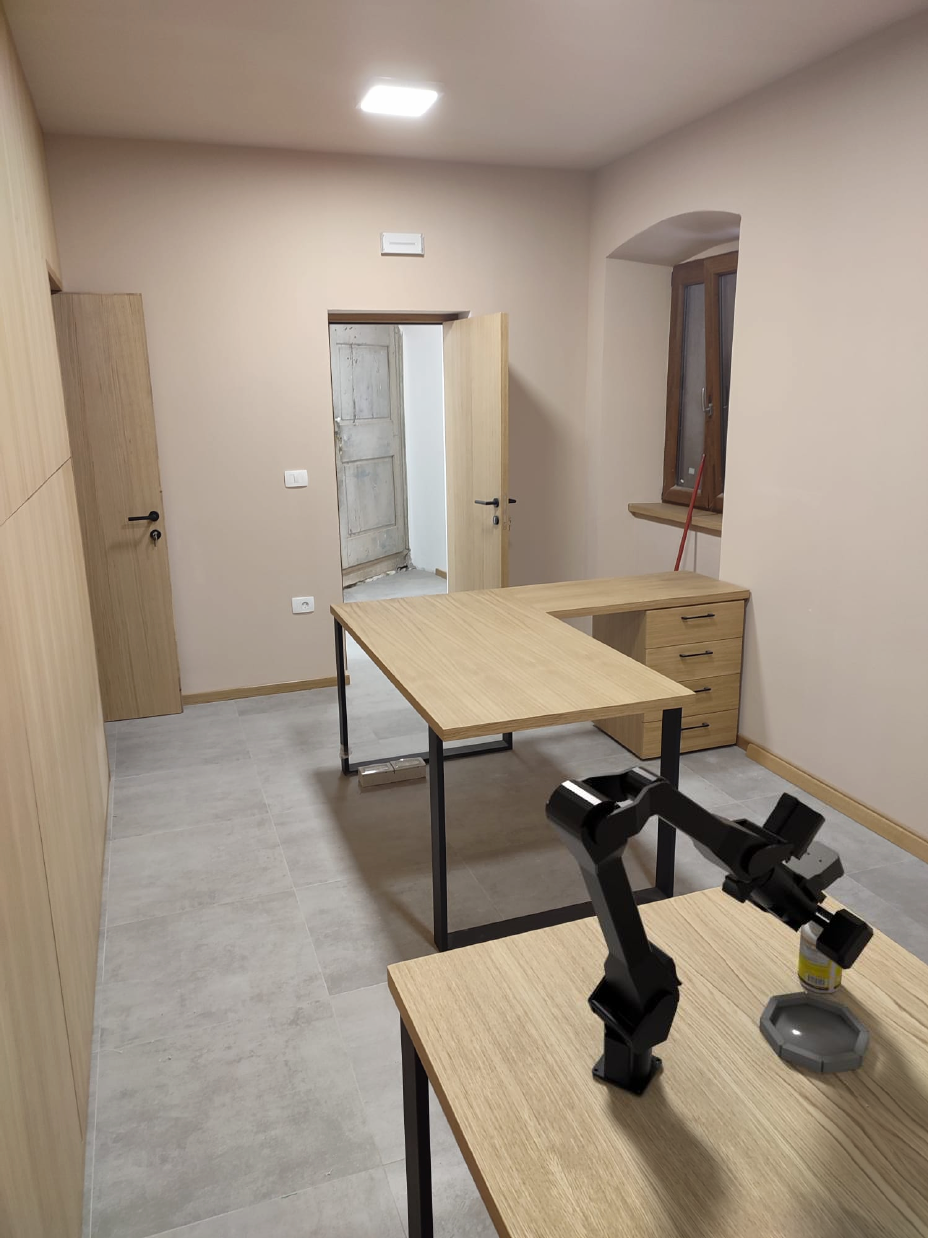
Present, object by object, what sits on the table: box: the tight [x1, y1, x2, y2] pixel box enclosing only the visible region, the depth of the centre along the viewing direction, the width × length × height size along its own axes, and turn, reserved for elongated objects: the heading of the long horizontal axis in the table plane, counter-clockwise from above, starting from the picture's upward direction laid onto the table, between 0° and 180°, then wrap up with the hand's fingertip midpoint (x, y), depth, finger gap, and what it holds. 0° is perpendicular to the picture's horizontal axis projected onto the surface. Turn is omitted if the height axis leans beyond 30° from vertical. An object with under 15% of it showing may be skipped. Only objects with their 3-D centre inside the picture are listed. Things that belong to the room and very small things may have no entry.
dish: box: [758, 990, 871, 1075], centre depth 108 cm, size 12×12×2 cm
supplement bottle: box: [797, 908, 843, 994], centre depth 117 cm, size 6×6×10 cm
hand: (829, 935), depth 117 cm, fingers open, 9 cm apart
